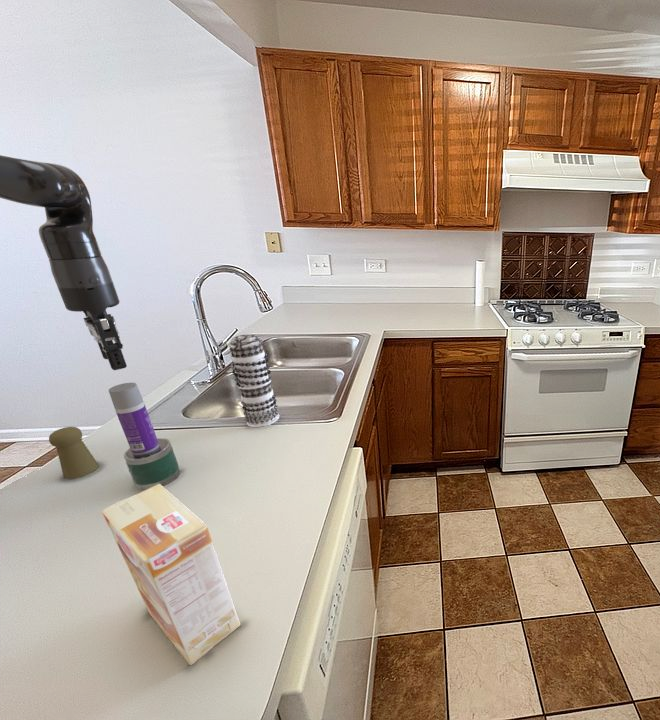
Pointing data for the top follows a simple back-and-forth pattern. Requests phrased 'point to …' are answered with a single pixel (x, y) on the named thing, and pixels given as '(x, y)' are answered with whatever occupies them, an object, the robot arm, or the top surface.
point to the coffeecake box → (174, 569)
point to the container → (134, 418)
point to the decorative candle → (253, 380)
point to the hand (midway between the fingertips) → (115, 363)
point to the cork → (73, 453)
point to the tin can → (153, 466)
